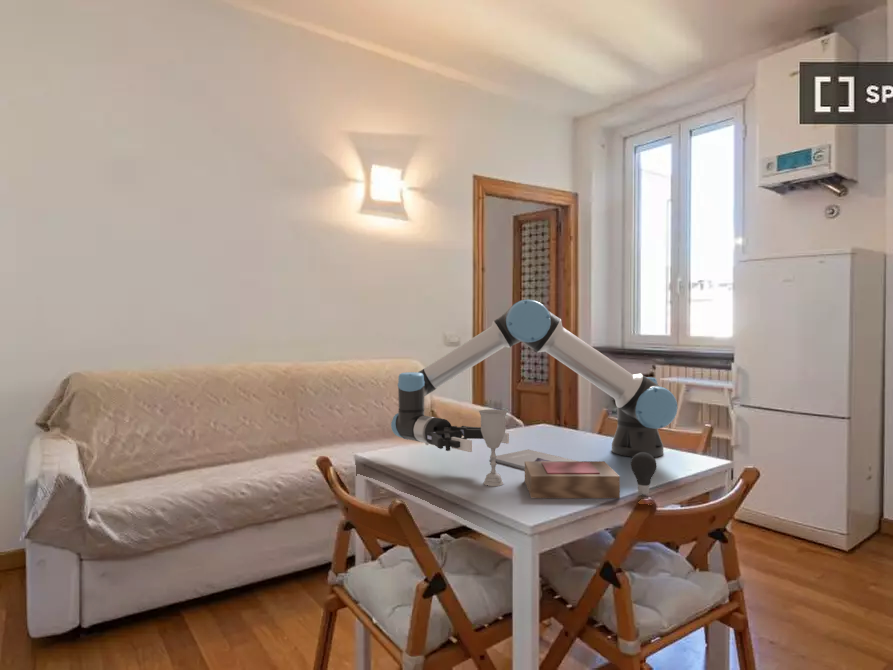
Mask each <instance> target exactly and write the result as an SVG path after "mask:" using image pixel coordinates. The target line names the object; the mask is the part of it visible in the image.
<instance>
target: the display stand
mask: <svg viewBox="0 0 893 670" xmlns="http://www.w3.org/2000/svg"><path fill="white" fill-rule="evenodd" d="M620 480H621V476H620V475H619V474H618V473H617V472H616V471H615V470H614V469H613V468H612V467H611V466H610V465H609V464H608V463H607V462H606V461H600V460H599V461H598V460H597V461H596V460H594V461H591V460H590V461H589V460H588V461H587V460H586V461H584V460H583V461H580V460H576V461H525V470H524V483H525V485H526V488H527V491H528V492H529V495H530V498H531V499H620V497H621V496H620V495H621V494H620V493H621V487H620V485H621V484H620V483H621V481H620Z"/></svg>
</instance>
